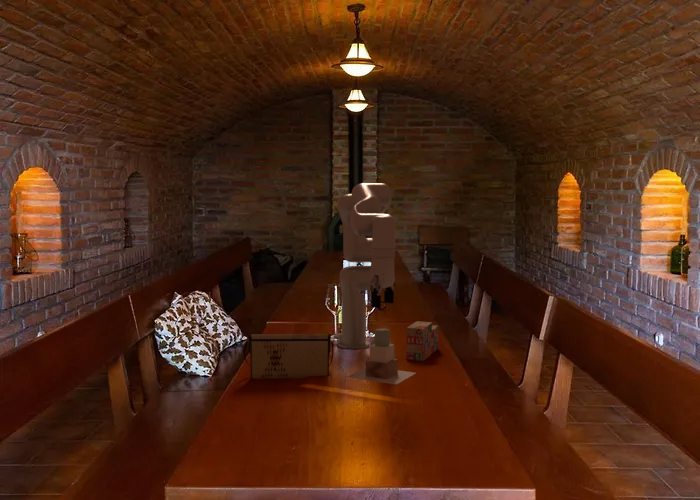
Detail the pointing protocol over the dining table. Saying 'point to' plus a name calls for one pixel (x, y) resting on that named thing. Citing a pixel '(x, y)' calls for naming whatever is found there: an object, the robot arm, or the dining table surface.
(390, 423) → the dining table surface
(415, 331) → the stack of blocks
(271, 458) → the dining table surface
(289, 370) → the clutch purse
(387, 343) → the olive domed cylinder
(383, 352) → the middle block
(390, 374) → the base block
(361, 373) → the grey board
